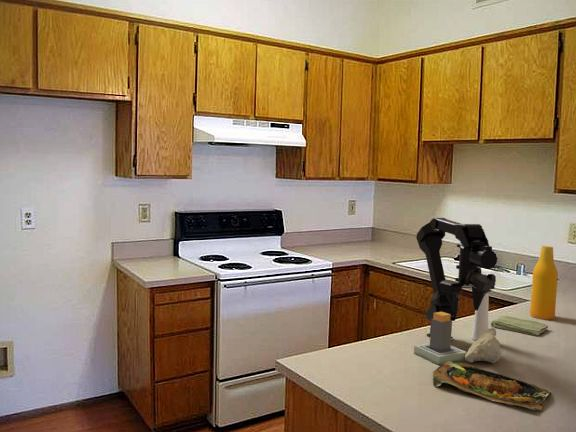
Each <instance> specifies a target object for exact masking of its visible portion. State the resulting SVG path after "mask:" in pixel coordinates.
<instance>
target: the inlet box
mask: <svg viewBox="0 0 576 432" xmlns="http://www.w3.org/2000/svg"><path fill="white" fill-rule="evenodd" d="M413 347H414V348H413V353H414V355H417V356H419V357H421V358H423V359H425V360H428V361H429V362H431V363H434V364H436V365H438V366H441V365H443V364H444V363H446V362H452V363H459V362H462V361H466V360H465V355H466V354H467V351H465V350H463V349H460V348H457V347H456V346H453V345H451V349H450V352H444V353H438V352H436V351H434V350H431V349H430V342H428V343H423V344H417V345H415V344H414V346H413Z"/></svg>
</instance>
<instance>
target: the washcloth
mask: <svg viewBox="0 0 576 432" xmlns="http://www.w3.org/2000/svg"><path fill="white" fill-rule="evenodd" d="M490 326H491V328H495V329H500V330H503V331H510V332H514V333H520V334H521V333H522V334H526V335H530V336H534V337H539V335H540V334H543V332H545V331H546V330H548V328H549V325H547V324H546V323H543V322H539V321H535V320H529V319H523V318H518V317H515V316H514V317H513V316H509V315H501V316H499V317H498V318H495V319H494V320H492V321H491V323H490Z"/></svg>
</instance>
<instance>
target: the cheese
mask: <svg viewBox="0 0 576 432" xmlns="http://www.w3.org/2000/svg"><path fill="white" fill-rule="evenodd" d="M496 336H497V329H496V328H495V327H491V328H489V327H488V329H486V330H485V331H484V332H483V333H482V335H481V336H480V337H479V338H478V340H476V341H475V340H474V342H473V343H472V344H471V346H470V347H469V348H468V351H466V355H465V360H464V361H465V362H467V363H473V362H474V363H475V362H487V363H490V364H495V363H496V362H497V361H499V360H500V358H501V355H502V351H501V345H500V343H501V342H500V341H499V339H497V337H496Z"/></svg>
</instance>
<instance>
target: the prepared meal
mask: <svg viewBox="0 0 576 432" xmlns="http://www.w3.org/2000/svg"><path fill="white" fill-rule="evenodd" d="M443 383H445V384H449V385H451V386H453V387H456V388H457V389H459V390H460V391H463V392H465V393H469V394H473V395H477V396H479V397H481V398H484V399H486V400H489V401H492V402H497V403H503V404H506V405H509V406H510V407H515V408H519V409H524V410H530V411H535V412H537V411H542V410H543V408H544V406H545V403H546V401H547V399H548V396H549V395H550V394H552V393H551V391H549V390H548V389H545V388H541V387H540V386H537V385H535V384H532V383H529V382H526V381H523V380H520V379H516V378H513V377H510V376H507V375H503V374H501V373H498V372H497V373H496V372H494V371H490V370H486V369H482V368H480V367H477V366H475V365H471V364H467V363H465V362H453V363H452V362H446V363H444V364H442V365H439V367H437V368H435V369H434V370H433V371H432V384H433V385H432V386H433V387H435V388H438V387H439V386H441V385H442V384H443ZM515 395H517V397H516V396H515ZM521 396H522V397H521Z"/></svg>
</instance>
